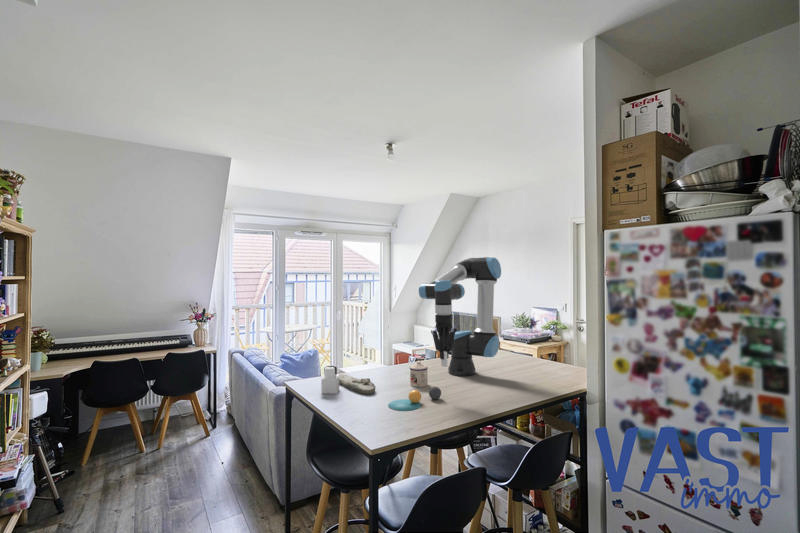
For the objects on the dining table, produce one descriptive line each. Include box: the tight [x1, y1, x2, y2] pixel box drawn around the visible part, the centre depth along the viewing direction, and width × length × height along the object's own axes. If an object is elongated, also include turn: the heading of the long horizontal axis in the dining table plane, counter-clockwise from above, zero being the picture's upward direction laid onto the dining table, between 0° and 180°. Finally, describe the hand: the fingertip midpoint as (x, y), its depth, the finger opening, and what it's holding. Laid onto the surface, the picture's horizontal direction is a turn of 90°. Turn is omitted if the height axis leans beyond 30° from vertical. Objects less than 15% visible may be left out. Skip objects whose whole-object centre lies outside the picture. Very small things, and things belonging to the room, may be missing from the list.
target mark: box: [387, 398, 422, 412], centre depth 165 cm, size 14×14×1 cm
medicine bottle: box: [321, 365, 340, 395], centre depth 186 cm, size 7×7×12 cm
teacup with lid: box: [409, 360, 429, 388], centre depth 194 cm, size 12×9×12 cm
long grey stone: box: [338, 373, 376, 395], centre depth 194 cm, size 35×5×10 cm
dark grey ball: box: [428, 386, 442, 401], centre depth 172 cm, size 6×6×6 cm
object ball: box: [408, 389, 422, 403], centre depth 168 cm, size 6×6×6 cm
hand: (444, 366), depth 175 cm, fingers closed
